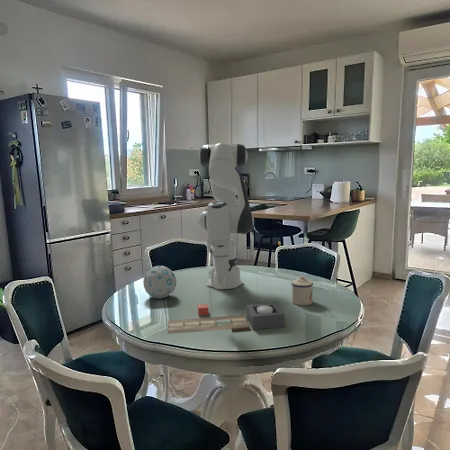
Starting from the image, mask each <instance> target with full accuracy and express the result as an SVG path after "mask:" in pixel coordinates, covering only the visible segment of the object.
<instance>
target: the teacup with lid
mask: <svg viewBox="0 0 450 450" xmlns="http://www.w3.org/2000/svg"><path fill="white" fill-rule="evenodd" d="M313 285H314V282H313V281H312V280H310V279H307V278H306V277H305V276H303V275H301V276H299V278H297V279H294V280H292V281H291V290H292V291H291V292H292V293H291V299H292V300H291V301H292V303H293V304H294V305H297V306H309V305H312V303H313Z"/></svg>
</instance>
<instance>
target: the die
mask: <svg viewBox="0 0 450 450" xmlns="http://www.w3.org/2000/svg"><path fill="white" fill-rule="evenodd" d="M209 312H210V311H209V304H208V303H206V304H205V303H204V304H197V313H198V316H208V315H209Z"/></svg>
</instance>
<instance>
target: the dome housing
mask: <svg viewBox="0 0 450 450" xmlns="http://www.w3.org/2000/svg"><path fill="white" fill-rule="evenodd" d="M264 305H265V306H271V307H272V308H273V313H266V314H257V307H259V306H264ZM246 320H247V322H248V324H249V326H250V328H251V329H252V330H254V331H255V330H264V329H265V330H266V329H275V328H285V313H284V312H283V310H282V308H280V306H279V305H278V303H277V302H269V303H259V304H246Z"/></svg>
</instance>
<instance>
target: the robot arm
mask: <svg viewBox="0 0 450 450" xmlns="http://www.w3.org/2000/svg"><path fill="white" fill-rule="evenodd" d="M248 156H249V155H248V151H247V149H246V146H245V145H243V144H240V143H237V144H235V143H229V142H228V143H227V142H226V143H225V142H219V143H213V144H209V143H208V144H203V145H202V146H201V147H200V148H199V152H198V159H199V162H200V165H201V166H202V167H203V168H208V176H209V177H208V178H209V179H210V180H211V182H212V183H211V187H212V188H211V191H212V194H211V195H212V198H214V200H215V201H212V202H209V203H208V204H207V207H206V210H205V211H201V213H200V214H199V215H198V218H197V225H198V227H199V229H200V230H201V231H203V232H204V233H206V251H207V252H208V253H209V254H210V256H211V257H212V265H213V266H212V267H211V269H210V270H208V275H209V277H208V280H207V283H206V287H208V288H209V287H210V288H214V289H215V282H214V272H215V271H216V274H217V277H218V284H219V285H223V280H224V277H225V288H224V289H223V290H228V289H229V290H230V289H235V288H237V287H239V286H243V285H244V284H245V282H244V281H243V280H242V279H241V270H240V268H239V266H237V265H238V261H237V260H238V259H237V255H236V243H235V241H234V240H233V239H232V238H231V234H240V235H241V234H243V235H247V234H248V233H249V232H250V231H252V230H253V228H254V225H255V219H254V218H255V217H254V214H253V212H252V209H251V205H250V200H249V197H248V191H247V186H246V184H245V180H244V177H243V175H241V174H239V173H238V171H237V170H239V168H242V167H244V166H245V165H246V163H247V161H248ZM236 196H237V197H236Z"/></svg>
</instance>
